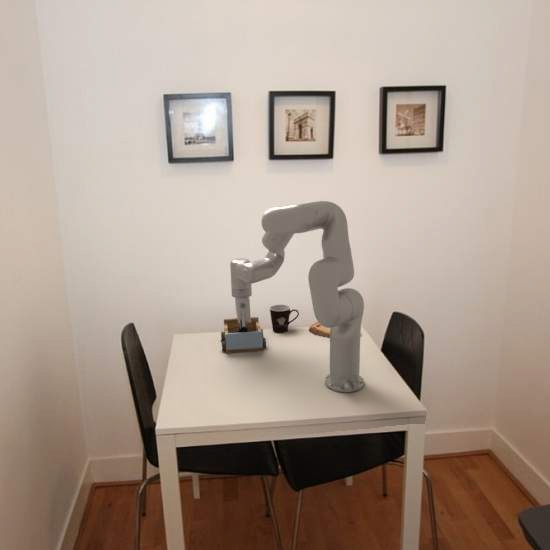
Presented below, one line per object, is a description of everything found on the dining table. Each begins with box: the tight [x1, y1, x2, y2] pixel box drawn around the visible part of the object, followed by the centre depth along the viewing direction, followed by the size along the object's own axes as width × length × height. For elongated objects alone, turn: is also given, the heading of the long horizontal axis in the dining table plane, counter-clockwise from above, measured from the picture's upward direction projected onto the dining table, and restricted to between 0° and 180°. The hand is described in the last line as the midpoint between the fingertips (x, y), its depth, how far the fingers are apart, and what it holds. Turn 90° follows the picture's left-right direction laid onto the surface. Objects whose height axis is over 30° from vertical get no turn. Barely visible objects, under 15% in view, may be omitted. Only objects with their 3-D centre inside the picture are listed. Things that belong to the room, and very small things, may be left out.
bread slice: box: [308, 321, 330, 339], centre depth 196 cm, size 18×18×4 cm
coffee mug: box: [269, 304, 300, 334], centre depth 198 cm, size 12×9×10 cm
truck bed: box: [220, 316, 267, 354], centre depth 185 cm, size 16×17×8 cm
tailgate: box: [226, 331, 264, 350], centre depth 176 cm, size 1×14×6 cm, turn 98°
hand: (243, 337), depth 181 cm, fingers closed
